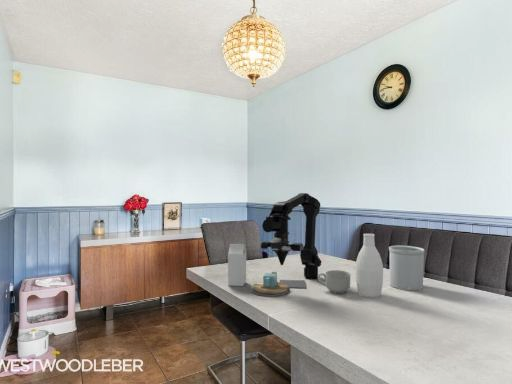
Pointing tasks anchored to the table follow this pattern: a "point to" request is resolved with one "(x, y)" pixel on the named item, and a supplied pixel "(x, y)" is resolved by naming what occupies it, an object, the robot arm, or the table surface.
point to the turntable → (270, 288)
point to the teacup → (336, 281)
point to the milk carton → (236, 265)
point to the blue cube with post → (270, 280)
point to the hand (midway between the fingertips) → (281, 264)
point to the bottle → (369, 269)
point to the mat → (294, 283)
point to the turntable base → (270, 294)
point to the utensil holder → (406, 267)
